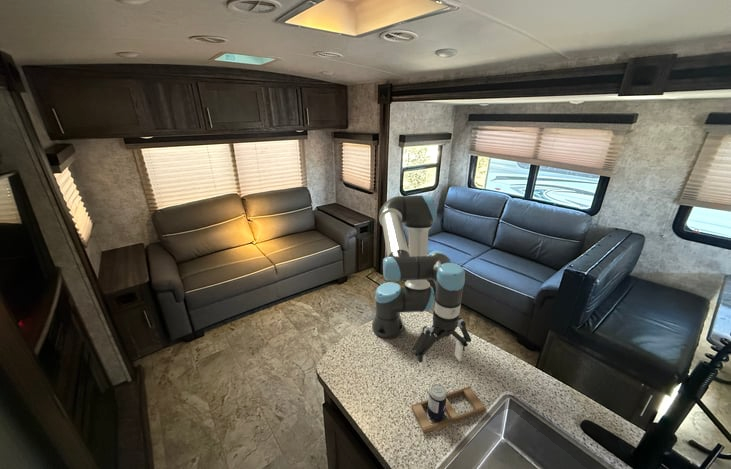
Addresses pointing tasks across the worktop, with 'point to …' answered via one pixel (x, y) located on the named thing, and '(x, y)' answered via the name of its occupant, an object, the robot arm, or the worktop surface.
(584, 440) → the worktop surface
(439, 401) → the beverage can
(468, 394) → the wooden frame
